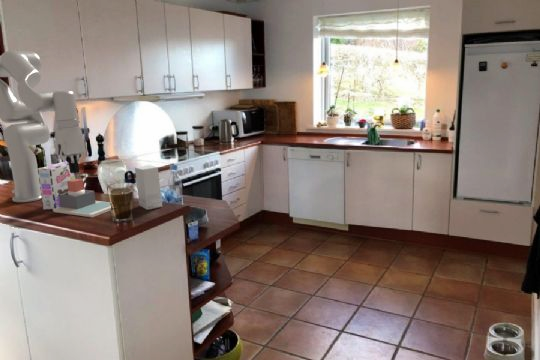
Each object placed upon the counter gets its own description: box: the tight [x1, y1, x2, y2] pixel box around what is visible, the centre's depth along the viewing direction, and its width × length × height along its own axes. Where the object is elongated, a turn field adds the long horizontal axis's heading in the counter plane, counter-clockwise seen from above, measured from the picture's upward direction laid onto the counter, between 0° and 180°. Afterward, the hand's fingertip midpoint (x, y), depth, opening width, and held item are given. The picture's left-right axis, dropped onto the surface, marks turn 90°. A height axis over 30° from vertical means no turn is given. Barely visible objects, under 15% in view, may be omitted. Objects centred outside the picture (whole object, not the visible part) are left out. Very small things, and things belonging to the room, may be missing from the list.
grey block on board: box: [52, 189, 112, 218], centre depth 176 cm, size 20×15×6 cm
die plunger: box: [67, 178, 86, 196], centre depth 177 cm, size 6×6×8 cm
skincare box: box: [134, 164, 163, 211], centre depth 175 cm, size 8×7×16 cm
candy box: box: [37, 161, 76, 211], centre depth 181 cm, size 14×6×16 cm, turn 166°
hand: (74, 172), depth 175 cm, fingers closed
